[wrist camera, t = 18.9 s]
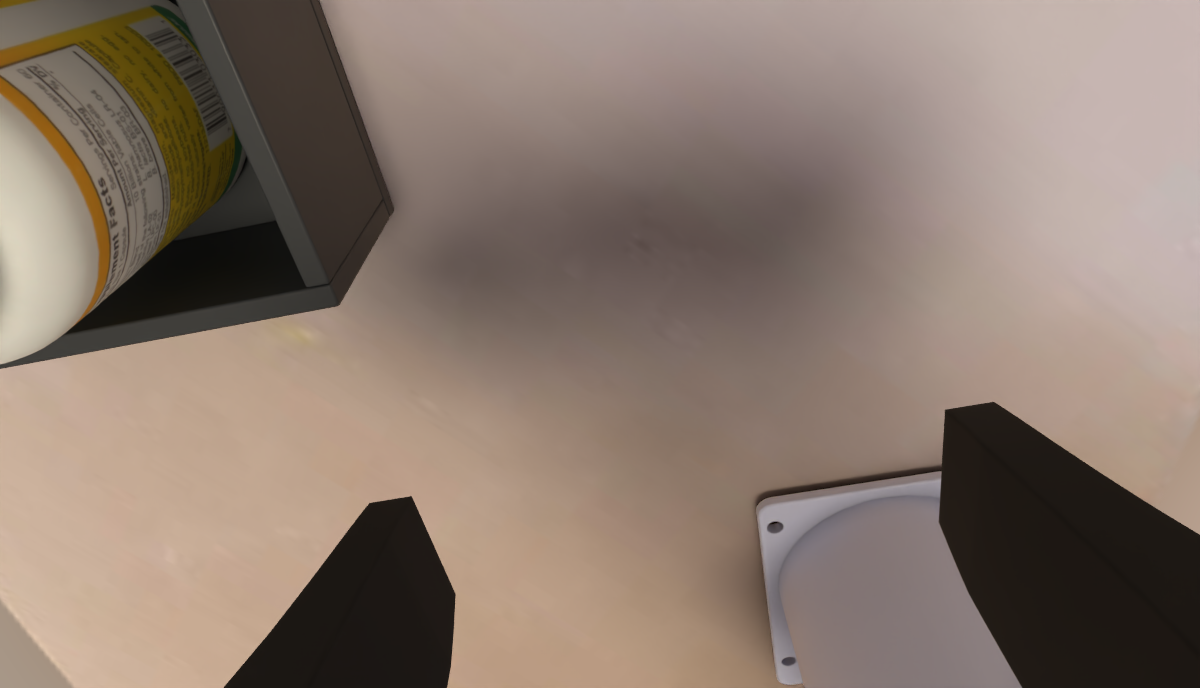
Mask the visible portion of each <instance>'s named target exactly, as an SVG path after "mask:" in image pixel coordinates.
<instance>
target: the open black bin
mask: <svg viewBox="0 0 1200 688" xmlns="http://www.w3.org/2000/svg"><path fill="white" fill-rule="evenodd" d="M169 1H170V2H172V3H173V4H175V5H176V6H177V7H179V9H180V11H181V13H182V15H183V17H184V20H185V22H186V24H187V26H188V28H189V31H190V33H191V35H192V37H193V39H194V42H195V44H196V46H197V48H198V50H199V53H200V55H201V57H202V59H203V61H204V64H205V66H206V68H207V70H208V72H209V75H210V77H211V79H212V81H213V83H214V86H215V88H216V90H217V92H218V94H219V97H220V99H221V101H222V103H223V105H224V108H225V110H226V112H227V114H228V116H229V119H230V121H231V123H232V125H233V127H234V130H235V132H236V134H237V136H238V138H239V141H240V143H241V145H242V147H243V149H244V152H245V154H246V158H245V162H244V165H243V168H242V170H241V172H240V174H239V176H238V178H237V180H236V181H235V183H234V185H233V186H232V187H231V188H230V190H229V191H228V192H227V193H226V194H225V195H224V196H223V197H222V198H221V199H220V200H219V201H218V202H217V203H215V204H214V205H213V206H212V207H211V208H210V209H209V210H207V211H206V212H205V213H204V214H203V215H202V216H200V217H199V218H198V219H197V220H196V221H195V222H193V223H192V224H191V225H190V226H188V227H187V228H186V229H185V230H184V231H183V232H182V233H180V234H179V235H178V236H177V237H176V238H175V239H174V240H172V241H171V242H170V243H169V244H168V245H167V246H165V247H164V248H163V249H162V250H161V251H160V252H158V253H157V254H156V255H155V256H154V257H153V258H151V259H150V260H149V261H148V262H147V263H146V264H145V265H144V266H142V267H141V268H140V269H139V270H138V271H137V272H136V273H135V274H134V275H133V276H131V277H130V278H129V279H128V280H127V281H126V282H125V283H123V284H122V285H121V286H120V287H119V288H118V289H117V290H115V291H114V292H113V293H112V294H110V295H109V296H108V297H107V298H106V299H105V300H103V301H102V302H101V303H100V304H99V305H98V306H97V307H96V308H95V309H94V310H92V311H91V312H90V313H89V314H87V315H86V316H85V317H84V318H82V319H81V320H80V321H79V322H78V323H77V324H75V325H74V326H73V327H72V328H71V329H69V330H68V331H67V332H66V333H65V334H63V335H62V336H61V337H59V338H58V339H57V340H55V341H54V342H52V343H50V344H49V345H47V346H46V347H44V348H43V349H41V350H39V351H37V352H35V353H33V354H30V355H28V356H25V357H23V358H20V359H17V360H14V361H11V362H8V363H4V364H0V369H2V368H7V367H13V366H18V365H23V364H29V363H34V362H39V361H45V360H50V359H56V358H61V357H66V356H72V355H77V354H83V353H88V352H93V351H99V350H104V349H109V348H115V347H120V346H126V345H131V344H136V343H142V342H147V341H152V340H158V339H163V338H169V337H174V336H179V335H185V334H190V333H196V332H201V331H206V330H212V329H217V328H222V327H228V326H233V325H239V324H244V323H249V322H255V321H260V320H265V319H271V318H276V317H282V316H287V315H292V314H298V313H303V312H308V311H314V310H319V309H325V308H330V307H335V306H338V305H340V303H341V301H342V300H343V298H344V296H345V294H346V293H347V291H348V289H349V288H350V286H351V284H352V282H353V281H354V279H355V277H356V275H357V274H358V272H359V270H360V268H361V267H362V265H363V263H364V261H365V260H366V258H367V256H368V254H369V253H370V251H371V249H372V247H373V246H374V244H375V242H376V240H377V239H378V237H379V235H380V233H381V232H382V230H383V228H384V226H385V225H386V223H387V221H388V220H389V217H390V216H391V214H392V213H393V211H394V208H393V205H392V203H391V200H390V197H389V194H388V192H387V189H386V186H385V183H384V181H383V178H382V175H381V172H380V170H379V167H378V164H377V161H376V159H375V156H374V153H373V150H372V148H371V145H370V142H369V139H368V137H367V134H366V131H365V128H364V125H363V123H362V120H361V117H360V114H359V112H358V109H357V106H356V103H355V101H354V98H353V95H352V92H351V90H350V87H349V84H348V81H347V79H346V76H345V73H344V70H343V68H342V65H341V62H340V59H339V57H338V54H337V51H336V48H335V46H334V43H333V40H332V37H331V35H330V32H329V29H328V26H327V24H326V21H325V18H324V15H323V13H322V10H321V7H320V4H319V2H318V0H169Z"/></svg>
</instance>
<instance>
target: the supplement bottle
mask: <svg viewBox="0 0 1200 688" xmlns="http://www.w3.org/2000/svg"><path fill="white" fill-rule="evenodd" d="M245 158H246V154H245V152H244V149H243V147H242V145H241V143H240V141H239V138H238V136H237V134H236V132H235V130H234V127H233V125H232V123H231V121H230V119H229V116H228V114H227V112H226V110H225V108H224V105H223V103H222V101H221V99H220V97H219V94H218V92H217V90H216V88H215V86H214V83H213V81H212V79H211V77H210V75H209V72H208V70H207V68H206V66H205V64H204V61H203V59H202V57H201V55H200V53H199V50H198V48H197V46H196V44H195V42H194V39H193V37H192V35H191V33H190V31H189V28H188V26H187V24H186V22H185V20H184V17H183V15H182V13H181V11H180V9H179V7H177V6H176V5H175V4H173V3H172V2H170V1H169V0H0V364H4V363H8V362H11V361H14V360H17V359H20V358H23V357H25V356H28V355H30V354H33V353H35V352H37V351H39V350H41V349H43V348H44V347H46V346H47V345H49V344H50V343H52V342H54V341H55V340H57V339H58V338H59V337H61V336H62V335H63V334H65V333H66V332H67V331H68V330H69V329H71V328H72V327H73V326H74V325H75V324H77V323H78V322H79V321H80V320H81V319H82V318H84V317H85V316H86V315H87V314H89V313H90V312H91V311H92V310H94V309H95V308H96V307H97V306H98V305H99V304H100V303H101V302H102V301H103V300H105V299H106V298H107V297H108V296H109V295H110V294H112V293H113V292H114V291H115V290H117V289H118V288H119V287H120V286H121V285H122V284H123V283H125V282H126V281H127V280H128V279H129V278H130V277H131V276H133V275H134V274H135V273H136V272H137V271H138V270H139V269H140V268H141V267H142V266H144V265H145V264H146V263H147V262H148V261H149V260H150V259H151V258H153V257H154V256H155V255H156V254H157V253H158V252H160V251H161V250H162V249H163V248H164V247H165V246H167V245H168V244H169V243H170V242H171V241H172V240H174V239H175V238H176V237H177V236H178V235H179V234H180V233H182V232H183V231H184V230H185V229H186V228H187V227H188V226H190V225H191V224H192V223H193V222H195V221H196V220H197V219H198V218H199V217H200V216H202V215H203V214H204V213H205V212H206V211H207V210H209V209H210V208H211V207H212V206H213V205H214V204H215V203H217V202H218V201H219V200H220V199H221V198H222V197H223V196H224V195H225V194H226V193H227V192H228V191H229V190H230V188H231V187H232V186H233V185H234V183H235V181H236V180H237V178H238V176H239V174H240V172H241V170H242V168H243V165H244V162H245Z"/></svg>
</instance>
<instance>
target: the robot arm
mask: <svg viewBox="0 0 1200 688" xmlns="http://www.w3.org/2000/svg"><path fill="white" fill-rule="evenodd" d="M756 514H757V522H758V531H759V539H760V547H761V556H762V564H763V572H764V581H765V589H766V597H767V606H768V614H769V622H770V631H771V639H772V647H773V656H774V664H775V672H776V676H777V679H778V681H779V682H780V683H782V684H786V685H793V684H801V683H803V684H804V688H1200V535H1199V534H1198V533H1196V532H1194V531H1193V530H1191V529H1189V528H1188V527H1186V526H1184V525H1182V524H1181V523H1179V522H1177V521H1176V520H1174V519H1173V518H1171V517H1169V516H1168V515H1166V514H1164V513H1162V512H1161V511H1160V510H1158V509H1156V508H1155V507H1153V506H1151V505H1150V504H1148V503H1147V502H1145V501H1143V500H1142V499H1140V498H1139V497H1137V496H1136V495H1134V494H1132V493H1131V492H1129V491H1128V490H1126V489H1125V488H1123V487H1121V486H1120V485H1118V484H1117V483H1115V482H1114V481H1112V480H1111V479H1109V478H1107V477H1106V476H1104V475H1103V474H1101V473H1100V472H1098V471H1097V470H1095V469H1094V468H1092V467H1091V466H1089V465H1088V464H1086V463H1085V462H1083V461H1082V460H1080V459H1079V458H1077V457H1076V456H1074V455H1073V454H1071V453H1070V452H1068V451H1067V450H1065V449H1064V448H1062V447H1061V446H1059V445H1058V444H1056V443H1055V442H1053V441H1052V440H1050V439H1049V438H1047V437H1046V436H1044V435H1043V434H1041V433H1040V432H1038V431H1037V430H1035V429H1034V428H1032V427H1031V426H1029V425H1028V424H1026V423H1025V422H1024V421H1022V420H1021V419H1019V418H1018V417H1016V416H1015V415H1013V414H1012V413H1010V412H1009V411H1007V410H1005V409H1004V408H1002V407H1001V406H999V405H998V404H996V403H995V402H990V403H984V404H978V405H972V406H966V407H959V408H953V409H947V410H945V422H944V439H943V456H942V471H938V472H931V473H925V474H918V475H912V476H905V477H899V478H892V479H886V480H879V481H873V482H866V483H860V484H853V485H847V486H840V487H834V488H827V489H821V490H814V491H808V492H801V493H795V494H788V495H782V496H775V497H769V498H766V499H764V500H762V501H761V502H760V503H759V504H758V505H757V508H756ZM772 522H778V523H776V524H770V523H772ZM454 612H455V592H454V590H453V588H452V585H451V583H450V581H449V579H448V576H447V574H446V572H445V570H444V567H443V565H442V563H441V561H440V559H439V556H438V554H437V552H436V550H435V547H434V545H433V543H432V541H431V538H430V536H429V534H428V532H427V530H426V527H425V525H424V523H423V521H422V518H421V516H420V514H419V512H418V510H417V507H416V505H415V503H414V501H413V498H412V496H410V497H404V498H398V499H392V500H386V501H380V502H373V503H369V505H368V506H367V507H366V508H365V510H364V511H363V512H362V513H361V515H360V516H359V517H358V518H357V520H356V521H355V522H354V524H353V525H352V526H351V528H350V529H349V530H348V531H347V533H346V534H345V535H344V537H343V538H342V539H341V541H340V542H339V543H338V545H337V546H336V547H335V549H334V550H333V551H332V553H331V554H330V555H329V557H328V558H327V559H326V561H325V562H324V563H323V565H322V566H321V567H320V569H319V570H318V571H317V573H316V574H315V575H314V577H313V578H312V579H311V580H310V582H309V583H308V584H307V586H306V587H305V588H304V589H303V591H302V592H301V593H300V595H299V596H298V597H297V598H296V600H295V601H294V602H293V604H292V605H291V606H290V607H289V609H288V610H287V611H286V613H285V614H284V615H283V616H282V618H281V619H280V620H279V622H278V623H277V624H276V625H275V627H274V628H273V629H272V631H271V632H270V633H269V634H268V636H267V637H266V638H265V639H264V640H263V642H262V643H261V644H260V645H259V646H258V647H257V649H256V650H255V651H254V652H253V653H252V655H251V656H250V657H249V658H248V659H247V661H246V662H245V663H244V664H243V665H242V666H241V668H240V669H239V670H238V671H237V672H236V674H235V675H234V676H233V677H232V678H231V680H230V681H229V682H228V683H227V684H226V685H225V687H224V688H447V685H448V679H449V673H450V668H451V657H452V644H453V631H454Z"/></svg>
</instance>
